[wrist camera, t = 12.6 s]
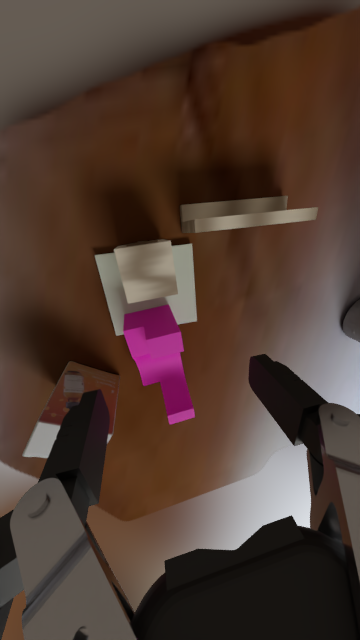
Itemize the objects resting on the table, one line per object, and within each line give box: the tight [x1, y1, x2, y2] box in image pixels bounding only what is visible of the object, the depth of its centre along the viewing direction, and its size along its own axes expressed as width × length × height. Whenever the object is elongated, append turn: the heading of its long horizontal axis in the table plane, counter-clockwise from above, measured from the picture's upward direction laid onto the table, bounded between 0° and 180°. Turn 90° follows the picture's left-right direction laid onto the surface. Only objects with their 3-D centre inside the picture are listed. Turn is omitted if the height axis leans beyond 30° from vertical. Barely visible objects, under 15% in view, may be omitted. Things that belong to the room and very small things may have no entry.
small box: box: [23, 361, 120, 458], centre depth 26 cm, size 8×6×10 cm
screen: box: [180, 196, 318, 233], centre depth 23 cm, size 14×3×6 cm, turn 96°
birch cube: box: [114, 239, 178, 304], centre depth 22 cm, size 6×6×6 cm
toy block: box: [123, 304, 195, 425], centre depth 27 cm, size 15×6×8 cm, turn 9°
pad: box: [95, 244, 197, 336], centre depth 27 cm, size 12×11×1 cm
